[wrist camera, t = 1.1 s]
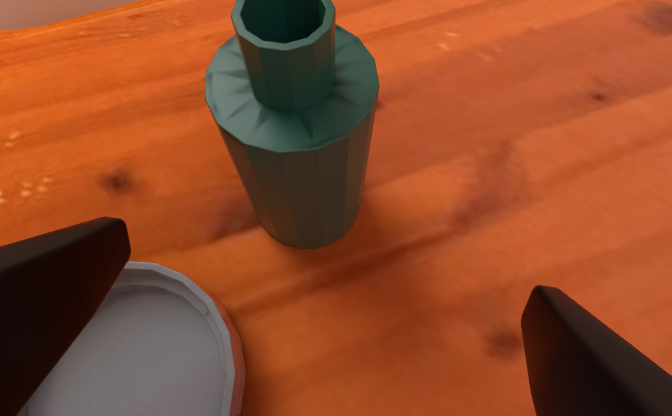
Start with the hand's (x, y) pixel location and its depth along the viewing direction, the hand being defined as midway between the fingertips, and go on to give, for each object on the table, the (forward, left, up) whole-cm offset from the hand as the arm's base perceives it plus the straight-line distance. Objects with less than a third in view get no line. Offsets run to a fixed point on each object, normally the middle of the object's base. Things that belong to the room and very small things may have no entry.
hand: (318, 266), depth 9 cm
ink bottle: (+6, +6, -14) cm, 17 cm away
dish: (-8, +6, -14) cm, 18 cm away
